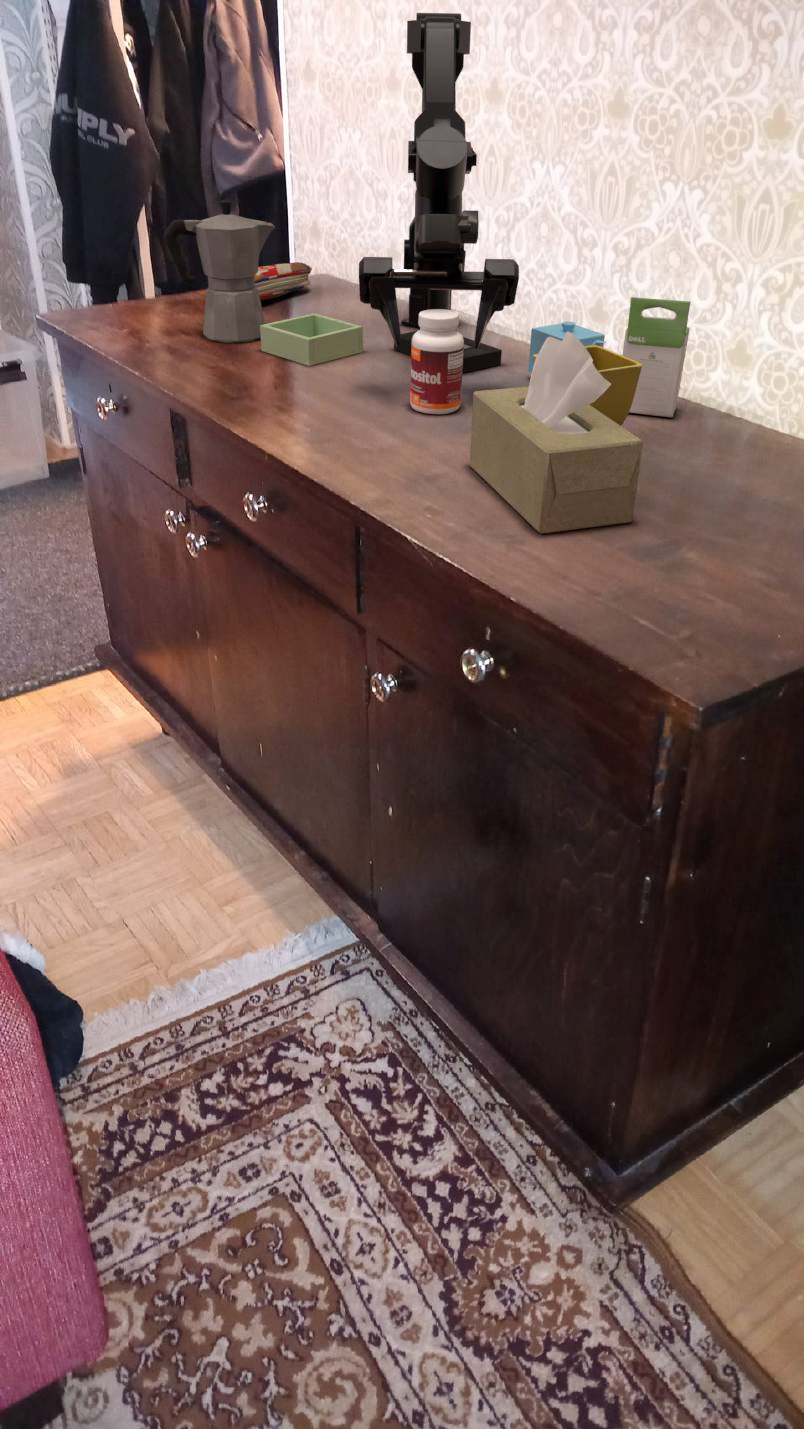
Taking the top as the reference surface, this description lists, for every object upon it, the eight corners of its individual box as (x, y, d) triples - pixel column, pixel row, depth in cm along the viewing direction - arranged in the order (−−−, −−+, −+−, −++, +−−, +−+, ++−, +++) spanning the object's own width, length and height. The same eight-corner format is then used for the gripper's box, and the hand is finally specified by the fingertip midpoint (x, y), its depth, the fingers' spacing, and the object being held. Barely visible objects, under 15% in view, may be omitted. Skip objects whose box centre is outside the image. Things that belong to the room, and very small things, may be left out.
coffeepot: (276, 324, 161) (269, 193, 151) (284, 341, 154) (277, 204, 144) (172, 329, 158) (158, 195, 148) (175, 346, 151) (161, 206, 141)
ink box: (676, 409, 131) (695, 294, 123) (672, 419, 127) (691, 302, 120) (620, 402, 132) (634, 289, 125) (614, 412, 129) (629, 296, 122)
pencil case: (198, 301, 173) (195, 268, 170) (293, 284, 184) (292, 253, 181) (238, 314, 166) (235, 280, 164) (334, 295, 178) (334, 263, 175)
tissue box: (634, 524, 102) (659, 355, 93) (540, 536, 99) (556, 363, 90) (551, 456, 117) (565, 305, 108) (467, 465, 114) (475, 311, 105)
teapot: (616, 392, 136) (624, 331, 132) (580, 400, 133) (587, 338, 129) (555, 369, 144) (561, 311, 140) (520, 375, 141) (524, 316, 137)
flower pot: (568, 457, 116) (577, 374, 111) (524, 432, 123) (531, 352, 118) (633, 445, 120) (644, 364, 115) (587, 421, 126) (596, 344, 121)
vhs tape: (435, 341, 155) (435, 327, 154) (501, 365, 145) (502, 350, 144) (394, 349, 151) (394, 335, 150) (459, 374, 141) (460, 358, 140)
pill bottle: (399, 408, 130) (400, 313, 123) (431, 396, 134) (434, 304, 127) (439, 419, 126) (442, 322, 120) (471, 407, 130) (475, 313, 124)
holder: (315, 337, 156) (314, 312, 154) (363, 351, 150) (363, 326, 148) (261, 350, 149) (259, 325, 148) (309, 366, 144) (308, 339, 142)
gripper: (358, 180, 120) (355, 305, 117) (523, 183, 121) (525, 308, 117) (361, 242, 131) (358, 358, 128) (513, 245, 131) (514, 361, 128)
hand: (437, 346), depth 125 cm, fingers open, 9 cm apart
